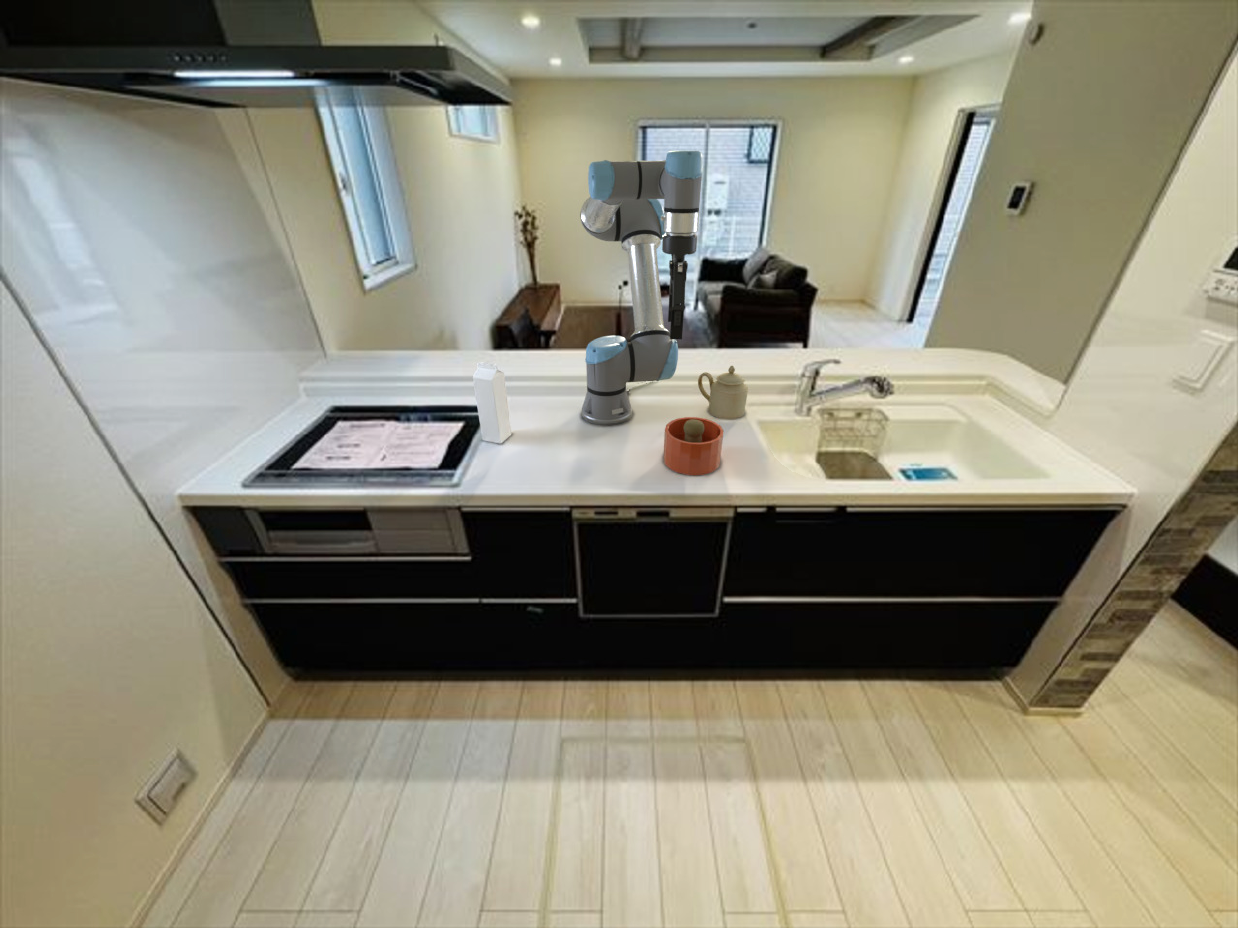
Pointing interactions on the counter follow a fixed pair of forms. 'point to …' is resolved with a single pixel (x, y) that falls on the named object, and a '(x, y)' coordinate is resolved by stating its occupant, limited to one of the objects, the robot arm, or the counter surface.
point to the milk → (492, 403)
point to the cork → (693, 431)
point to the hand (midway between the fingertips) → (674, 330)
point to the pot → (692, 448)
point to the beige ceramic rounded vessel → (725, 394)
